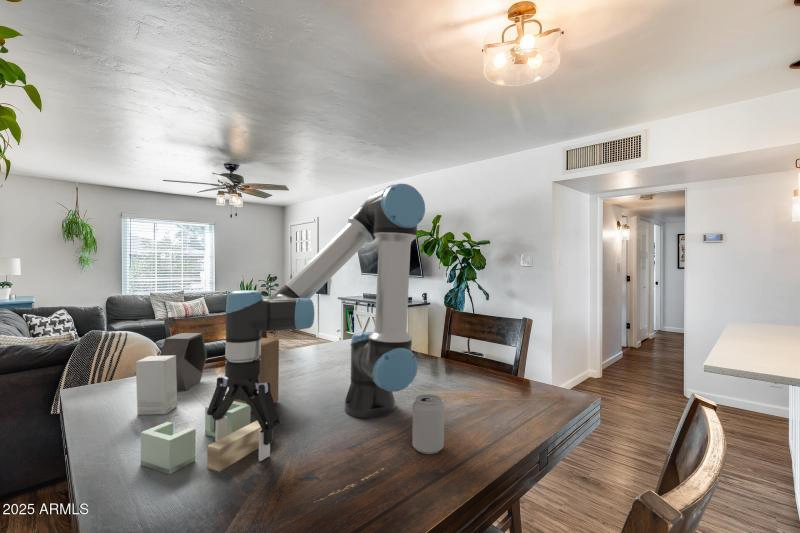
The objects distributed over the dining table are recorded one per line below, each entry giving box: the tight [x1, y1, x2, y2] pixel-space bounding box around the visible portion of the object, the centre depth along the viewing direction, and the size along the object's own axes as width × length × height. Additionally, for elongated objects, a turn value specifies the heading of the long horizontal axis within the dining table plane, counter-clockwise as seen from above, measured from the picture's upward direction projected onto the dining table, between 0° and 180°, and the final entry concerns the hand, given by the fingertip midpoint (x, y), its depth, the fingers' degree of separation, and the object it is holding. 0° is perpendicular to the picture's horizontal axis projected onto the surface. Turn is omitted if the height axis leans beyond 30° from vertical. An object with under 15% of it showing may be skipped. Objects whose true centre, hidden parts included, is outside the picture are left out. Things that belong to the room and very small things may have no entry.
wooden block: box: [234, 337, 280, 413], centre depth 116 cm, size 10×10×20 cm
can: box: [411, 393, 445, 455], centre depth 91 cm, size 8×8×12 cm
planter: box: [159, 332, 208, 392], centre depth 134 cm, size 17×8×21 cm
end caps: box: [140, 401, 252, 475], centre depth 90 cm, size 22×9×7 cm, turn 157°
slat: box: [206, 419, 274, 473], centre depth 88 cm, size 16×4×5 cm, turn 158°
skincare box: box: [135, 355, 178, 416], centre depth 111 cm, size 8×7×16 cm
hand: (242, 452), depth 88 cm, fingers open, 12 cm apart
